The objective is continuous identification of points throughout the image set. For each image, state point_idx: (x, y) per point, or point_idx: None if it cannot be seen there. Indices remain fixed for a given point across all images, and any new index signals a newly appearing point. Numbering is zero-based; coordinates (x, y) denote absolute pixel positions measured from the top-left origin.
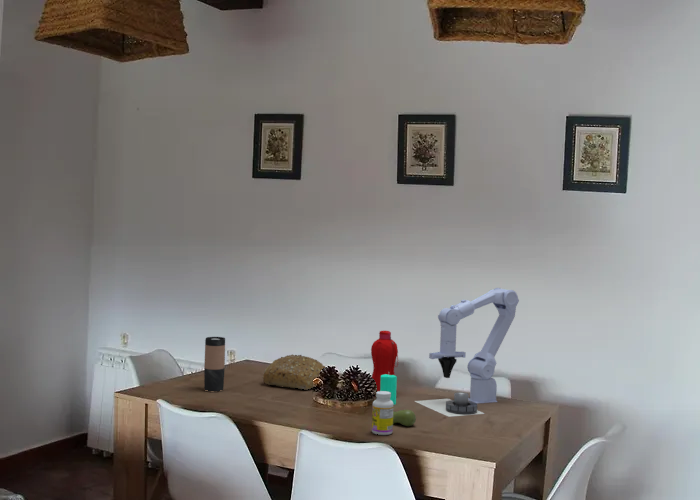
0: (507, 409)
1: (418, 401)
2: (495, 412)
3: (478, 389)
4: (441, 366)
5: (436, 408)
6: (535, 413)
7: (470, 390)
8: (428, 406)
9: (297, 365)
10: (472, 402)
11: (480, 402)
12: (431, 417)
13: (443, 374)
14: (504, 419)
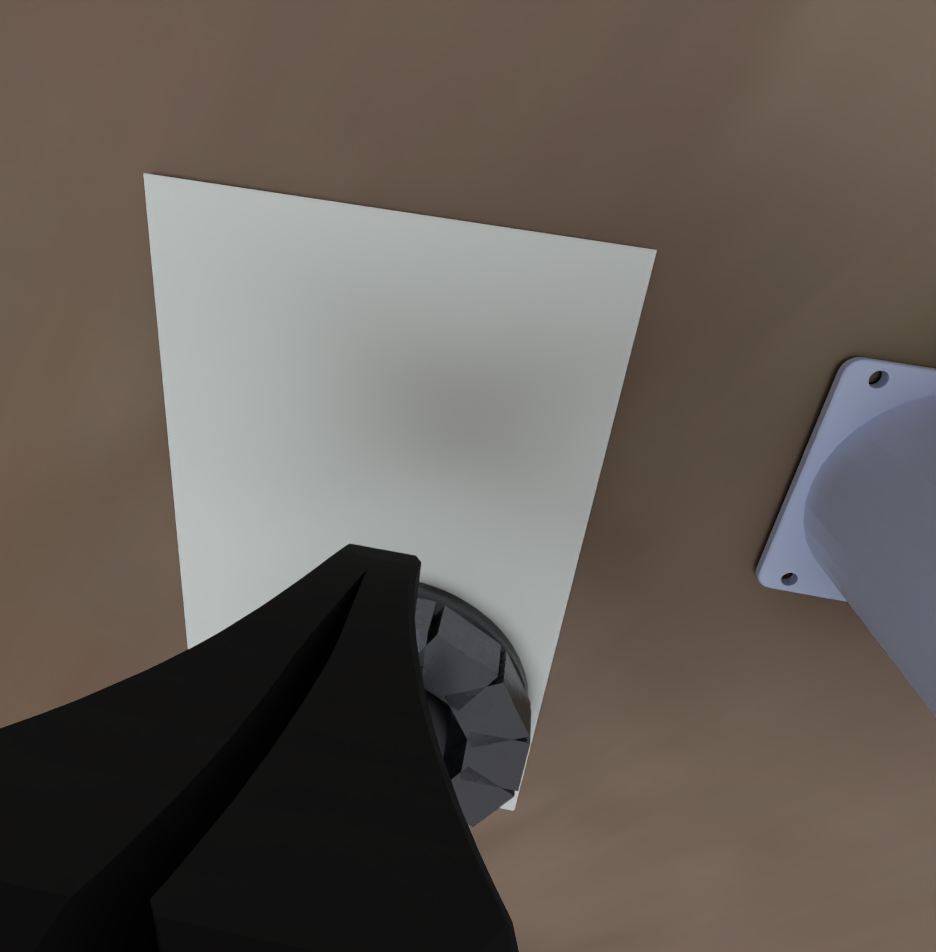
0: (831, 797)
1: (190, 214)
2: (647, 802)
3: (889, 655)
4: (166, 670)
5: (230, 545)
6: (898, 937)
7: (901, 494)
8: (194, 455)
9: None
10: (505, 760)
11: (808, 592)
12: (85, 679)
13: (320, 569)
14: (542, 910)
